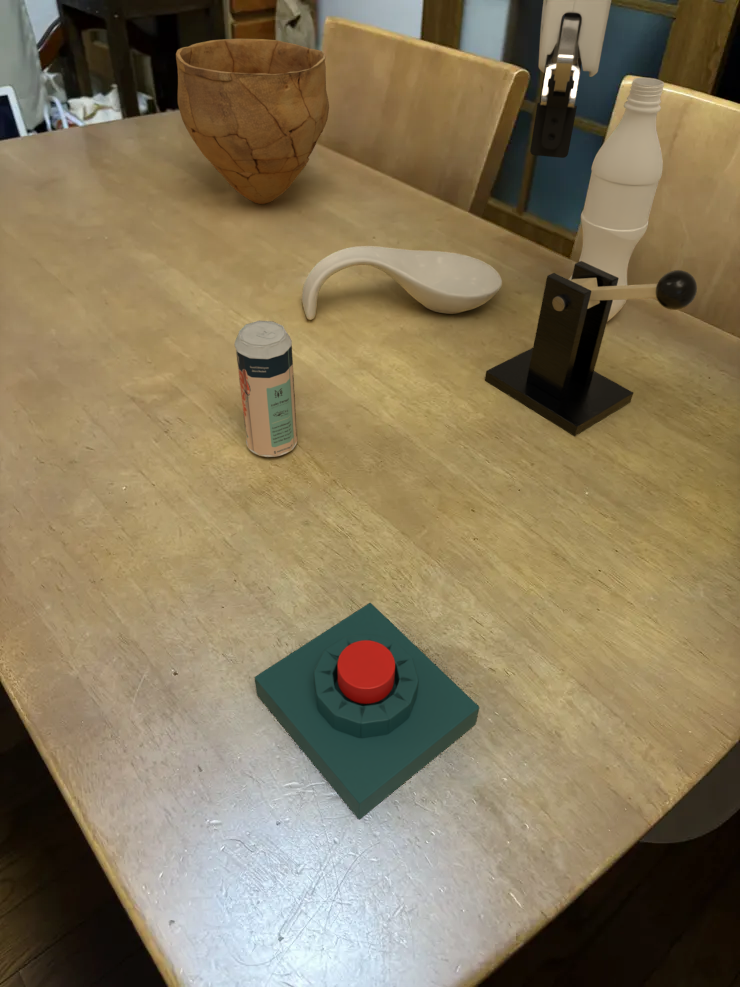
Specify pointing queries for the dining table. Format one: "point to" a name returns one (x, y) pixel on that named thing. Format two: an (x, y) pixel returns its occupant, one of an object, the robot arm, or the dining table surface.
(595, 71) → the robot arm
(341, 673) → the button
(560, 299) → the bracket
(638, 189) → the water bottle
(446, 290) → the spoon rest
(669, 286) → the switch lever
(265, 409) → the beer can
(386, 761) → the button block
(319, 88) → the bowl
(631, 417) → the dining table surface
